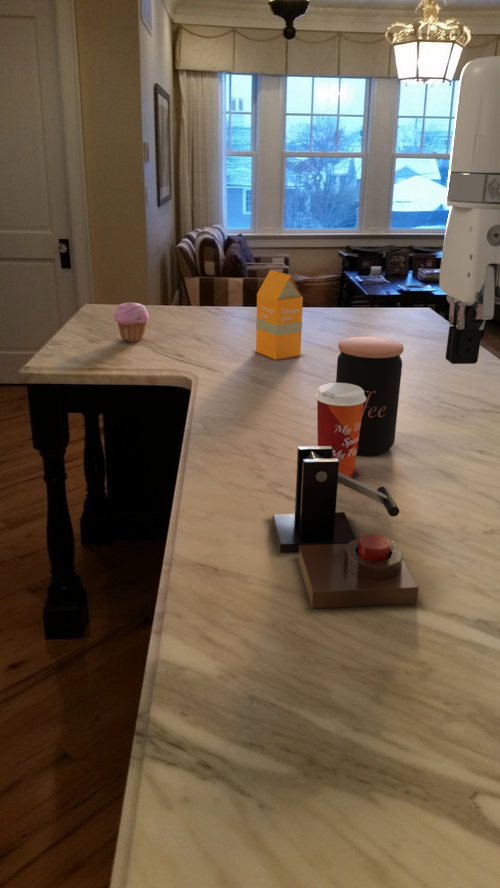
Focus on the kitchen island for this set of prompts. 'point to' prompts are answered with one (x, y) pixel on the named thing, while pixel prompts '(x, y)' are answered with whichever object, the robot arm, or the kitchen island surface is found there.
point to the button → (374, 547)
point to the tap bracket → (314, 505)
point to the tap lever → (366, 490)
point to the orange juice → (279, 317)
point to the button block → (355, 577)
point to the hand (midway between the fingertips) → (461, 361)
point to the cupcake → (131, 321)
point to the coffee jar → (373, 387)
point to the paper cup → (340, 421)
